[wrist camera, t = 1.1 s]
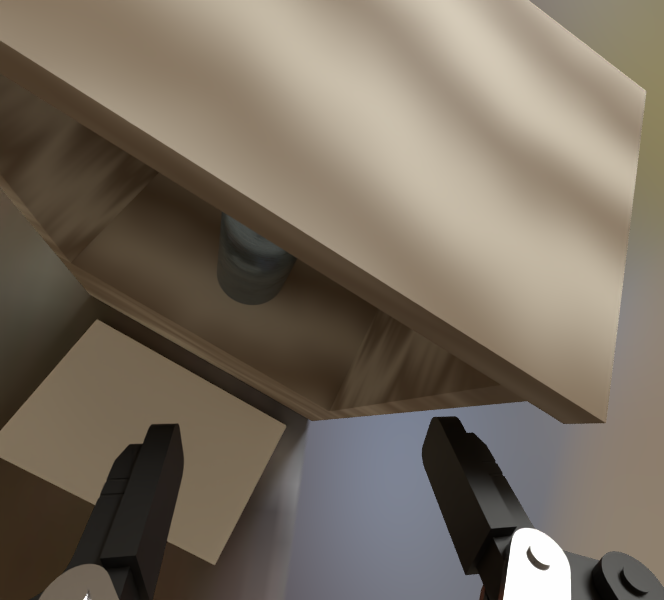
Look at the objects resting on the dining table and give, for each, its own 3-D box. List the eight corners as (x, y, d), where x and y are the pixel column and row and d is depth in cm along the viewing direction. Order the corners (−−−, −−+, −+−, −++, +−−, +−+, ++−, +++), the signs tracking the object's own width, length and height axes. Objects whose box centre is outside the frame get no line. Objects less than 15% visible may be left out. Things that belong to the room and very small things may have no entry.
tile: (214, 561, 28) (214, 565, 27) (-10, 449, 26) (-16, 449, 25) (284, 425, 33) (286, 425, 32) (99, 321, 31) (96, 319, 30)
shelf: (314, 428, 34) (605, 422, 9) (80, 296, 31) (-369, -193, 7) (376, 298, 40) (646, 90, 16) (187, 179, 38) (157, -286, 13)
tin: (220, 310, 26) (231, 227, 16) (211, 244, 28) (215, 126, 17) (291, 302, 28) (344, 222, 17) (279, 240, 30) (321, 131, 19)
